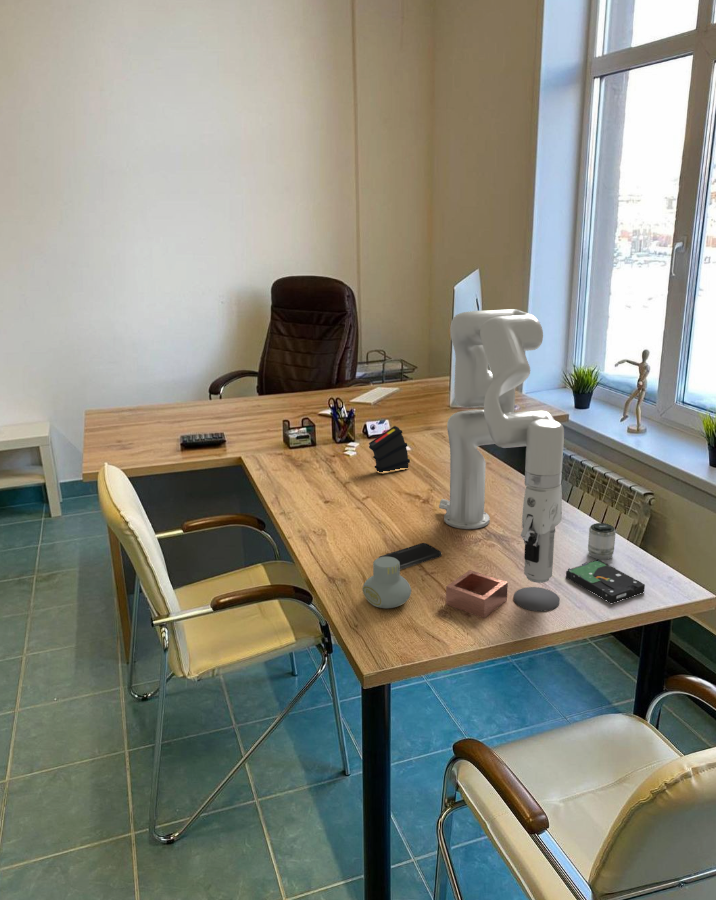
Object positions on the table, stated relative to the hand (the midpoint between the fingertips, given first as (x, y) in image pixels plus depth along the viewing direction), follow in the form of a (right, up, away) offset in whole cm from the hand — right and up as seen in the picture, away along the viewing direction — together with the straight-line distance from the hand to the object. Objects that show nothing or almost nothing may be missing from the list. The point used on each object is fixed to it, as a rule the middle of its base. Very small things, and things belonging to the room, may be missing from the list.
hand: (538, 554), depth 168 cm
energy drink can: (0, -5, +2) cm, 6 cm away
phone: (-26, -5, +25) cm, 37 cm away
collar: (-13, -11, +3) cm, 17 cm away
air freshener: (-33, -11, +5) cm, 35 cm away
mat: (0, -11, +4) cm, 11 cm away
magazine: (-29, +16, +86) cm, 92 cm away
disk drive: (+17, -9, +10) cm, 22 cm away
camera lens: (+21, -3, +24) cm, 32 cm away
